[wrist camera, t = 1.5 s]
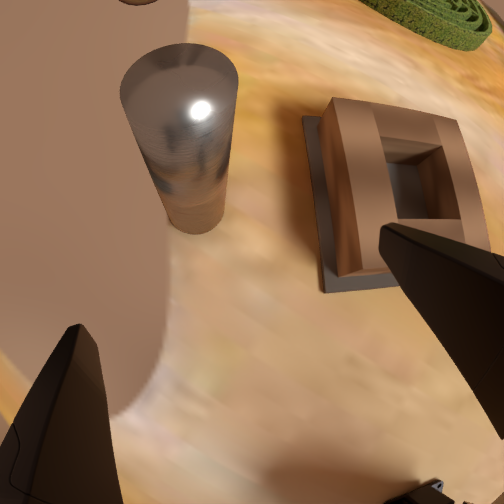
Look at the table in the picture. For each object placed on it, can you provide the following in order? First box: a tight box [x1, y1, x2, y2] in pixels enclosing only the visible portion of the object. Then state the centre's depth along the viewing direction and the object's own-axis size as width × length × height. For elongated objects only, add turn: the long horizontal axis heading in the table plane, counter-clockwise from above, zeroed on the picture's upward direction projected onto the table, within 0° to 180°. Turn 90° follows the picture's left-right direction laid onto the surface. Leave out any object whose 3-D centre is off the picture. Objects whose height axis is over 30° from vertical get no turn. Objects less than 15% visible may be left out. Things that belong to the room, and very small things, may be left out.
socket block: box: [302, 97, 491, 293], centre depth 22 cm, size 14×14×4 cm
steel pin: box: [120, 43, 238, 234], centre depth 16 cm, size 4×4×13 cm
